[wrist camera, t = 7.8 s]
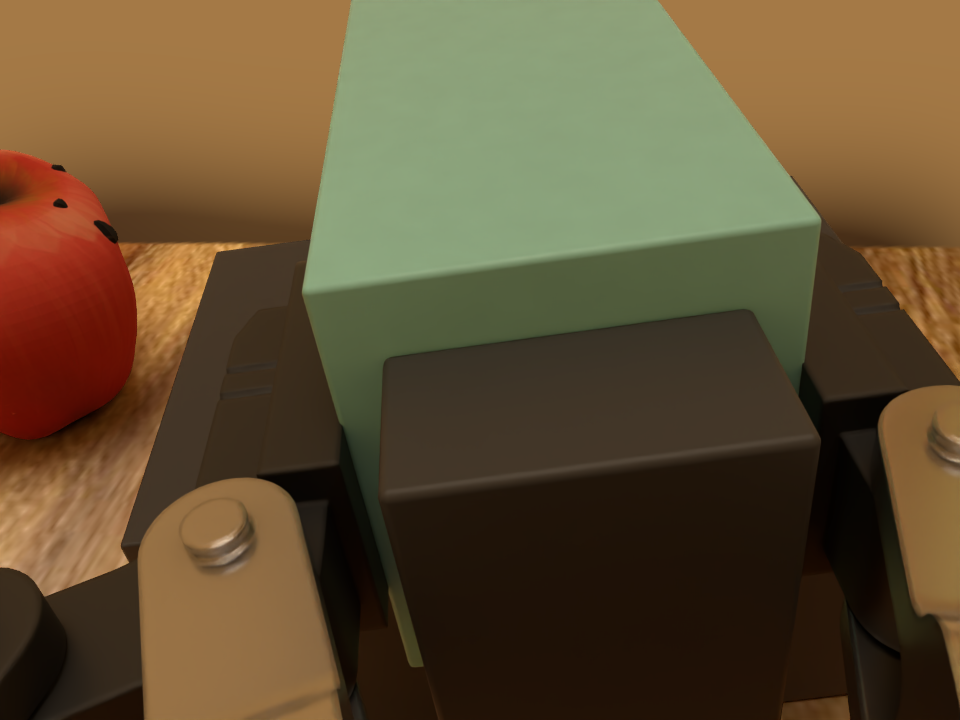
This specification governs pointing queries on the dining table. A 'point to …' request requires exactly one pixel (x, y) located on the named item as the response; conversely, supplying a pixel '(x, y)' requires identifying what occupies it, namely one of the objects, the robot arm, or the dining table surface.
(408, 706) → the stand
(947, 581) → the robot arm
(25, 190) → the apple
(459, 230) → the green block
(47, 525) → the dining table surface
